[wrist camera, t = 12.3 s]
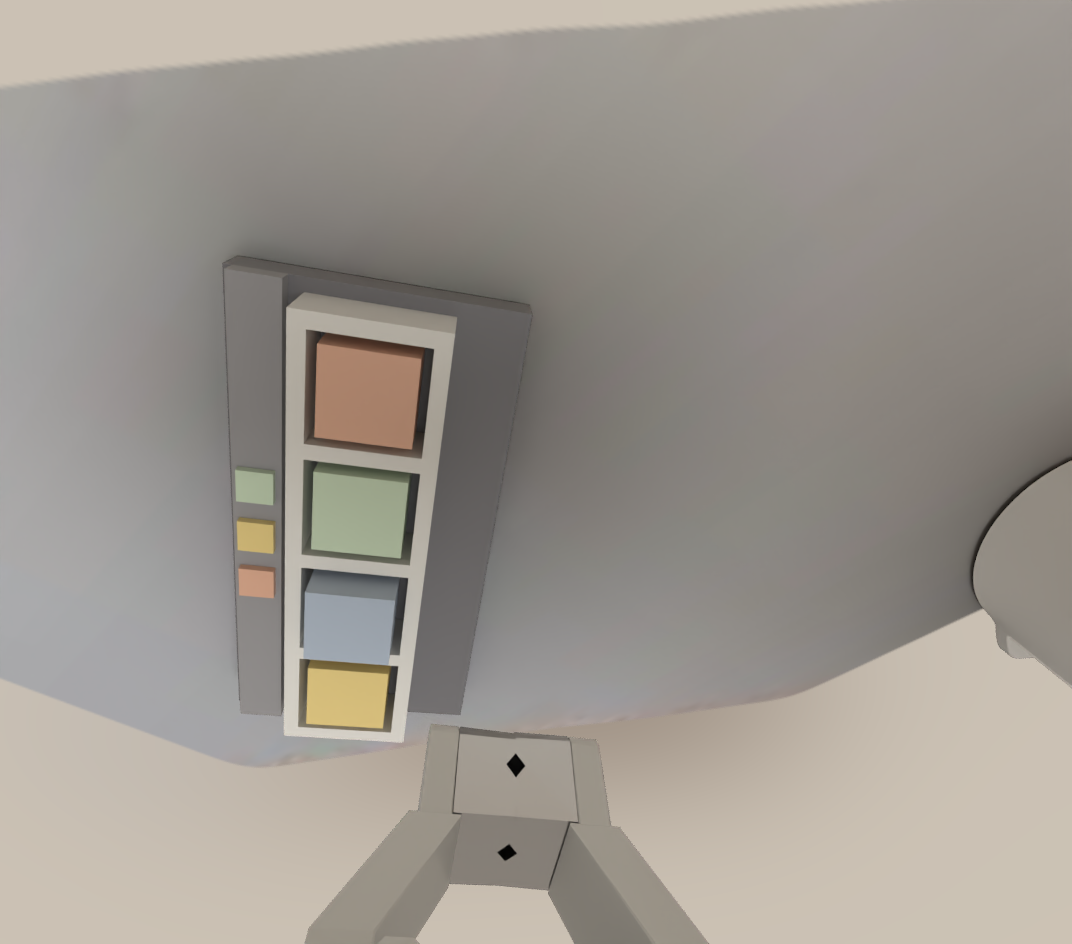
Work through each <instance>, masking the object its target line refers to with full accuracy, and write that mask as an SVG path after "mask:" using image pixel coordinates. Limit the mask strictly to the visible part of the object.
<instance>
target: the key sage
mask: <svg viewBox="0 0 1072 944" xmlns="http://www.w3.org/2000/svg"><path fill="white" fill-rule="evenodd" d="M411 477H412V473H408V472H400V471H392V470H384V469H376V468H368V467H360V466H352V465H343V464H335V463H327V462H318V464H317V466H316V468H315V470H314V472H313V504H312V540H311V549H313V550H323V551H333V552H342V553H352V554H362V555H371V556H381V557H391V558H401V554H402V548H403V543H404V538H405V533H406V524H407V515H408V505H409V496H410V486H411Z"/></svg>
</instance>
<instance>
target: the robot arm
mask: <svg viewBox="0 0 1072 944" xmlns="http://www.w3.org/2000/svg"><path fill="white" fill-rule="evenodd" d="M973 584H974V590H975V594H976V597H977V599H978V601H979V603H980V605H981V606H982V607H983V609H984V610H985V611H986V612H987V613H988V614H989V615H990V616H991V618H992V619H993V620H994V622H995V624H996V636H997V642H998V645H999V647H1000V648H1001V649H1002V650H1003V651H1005V652H1006V653H1007V654H1008V655H1010V656H1011V657H1013V658H1019V659H1020V658H1035V659H1036V660H1037V661H1039V662H1040V663H1041V664H1042V665H1044V666H1045V667H1046V668H1047V669H1049V670H1050V671H1051V672H1052V673H1054V674H1055V675H1056V676H1057V677H1059V678H1060V679H1061V680H1062V681H1064V682H1065V683H1066V684H1067V685H1069V686H1070V687H1071V688H1072V461H1069V462H1067V463H1065V464H1063V465H1061V466H1060V467H1058V468H1056V469H1054V470H1052V471H1051V472H1049V473H1048V474H1046V475H1044V476H1043V477H1041V478H1040V479H1039V480H1037V481H1036V482H1034V483H1033V484H1032V485H1030V486H1029V487H1028V488H1027V489H1025V490H1024V491H1023V492H1022V493H1021V494H1020V495H1019V496H1018V497H1016V498H1015V499H1014V500H1013V501H1012V502H1011V503H1010V504H1009V505H1008V506H1007V508H1006V509H1005V510H1004V511H1003V512H1002V513H1001V514H1000V516H999V517H998V518H997V519H996V521H995V522H994V524H993V525H992V526H991V528H990V530H989V531H988V533H987V535H986V536H985V538H984V540H983V542H982V544H981V546H980V549H979V551H978V554H977V557H976V561H975V565H974V572H973ZM449 884H467V885H496V886H507V887H518V888H528V889H539V890H549V892H548V894H549V896H550V898H551V900H552V902H553V904H554V906H555V907H556V909H557V911H558V913H559V915H560V917H561V919H562V921H563V923H564V925H565V927H566V928H567V930H568V932H569V934H570V936H571V938H572V940H573V942H574V944H709V943H708V942H707V940H706V939H705V938H704V937H703V935H702V934H701V933H700V931H699V930H698V929H697V927H696V926H695V925H694V924H693V922H692V921H691V920H690V918H689V917H688V916H687V914H686V913H685V912H684V911H683V909H682V908H681V907H680V905H679V904H678V903H677V901H676V900H675V899H674V898H673V896H672V895H671V894H670V892H669V891H668V890H667V888H666V887H665V886H664V884H663V883H662V882H661V880H660V879H659V878H658V877H657V875H656V874H655V873H654V871H653V870H652V869H651V868H650V866H649V865H648V864H647V862H646V861H645V860H644V858H643V857H642V856H641V854H640V853H639V852H638V851H637V849H636V848H635V847H634V845H633V844H632V843H631V841H630V840H629V839H628V837H627V836H626V835H625V834H624V832H623V831H622V830H621V828H620V827H615V826H611V822H610V816H609V809H608V802H607V795H606V789H605V782H604V775H603V769H602V763H601V756H600V749H599V744H598V743H597V741H596V740H594V739H583V738H573V737H569V738H568V737H567V736H555V735H542V734H530V733H518V732H514V733H508V732H500V731H491V730H483V729H475V728H467V727H460V728H459V727H457V726H447V725H438V724H431V726H430V730H429V735H428V742H427V750H426V757H425V763H424V771H423V778H422V785H421V792H420V800H419V806H418V811H408V813H407V814H406V815H405V816H404V817H403V818H402V820H401V821H400V822H399V823H398V824H397V825H396V827H395V828H394V829H393V830H392V831H391V832H390V834H389V835H388V836H387V837H386V838H385V839H384V841H383V842H382V843H381V844H380V845H379V846H378V848H377V849H376V850H375V851H374V852H373V854H372V855H371V856H370V857H369V858H368V859H367V861H366V862H365V863H364V864H363V865H362V866H361V868H360V869H359V870H358V871H357V872H356V873H355V875H354V876H353V877H352V878H351V879H350V881H349V882H348V883H347V884H346V885H345V886H344V887H343V889H342V890H341V891H340V892H339V893H338V895H337V896H336V897H335V898H334V899H333V900H332V902H331V903H330V904H329V905H328V906H327V908H326V909H325V910H324V911H323V912H322V913H321V915H320V916H319V917H318V918H317V919H316V920H315V921H314V923H313V924H312V925H311V926H310V927H309V929H308V933H307V937H306V941H305V944H419V943H418V942H417V940H416V937H417V936H418V934H419V933H420V931H421V929H422V928H423V926H424V925H425V923H426V921H427V920H428V918H429V917H430V915H431V914H432V912H433V911H434V909H435V907H436V906H437V904H438V903H439V901H440V900H441V898H442V897H443V895H444V893H445V892H446V890H447V889H448V886H449Z"/></svg>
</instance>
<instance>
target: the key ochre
mask: <svg viewBox="0 0 1072 944" xmlns="http://www.w3.org/2000/svg"><path fill="white" fill-rule="evenodd" d="M390 674H391V666H389V665H376V664H363V663H350V662H337V661H324V660H310V663H309V666H308V682H307V718H306V724H317V725H333V726H349V727H366V728H382V729H383V724H384V718H385V712H386V706H387V700H388V693H389V683H390Z"/></svg>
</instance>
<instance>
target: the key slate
mask: <svg viewBox="0 0 1072 944" xmlns="http://www.w3.org/2000/svg"><path fill="white" fill-rule="evenodd" d="M399 581H400V577H392V576H382V575H372V574H362V573H351V572H341V571H331V570H321V569H314V570H313V573H312V576H311V578H310V581H309V583H308V586H307V588H306V591H305V611H304V654H303V659H313V660H326V661H339V662H352V663H365V664H378V665H388V664H389V658H390V653H391V647H392V641H393V636H394V628H395V618H396V609H397V599H398V590H399Z"/></svg>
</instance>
